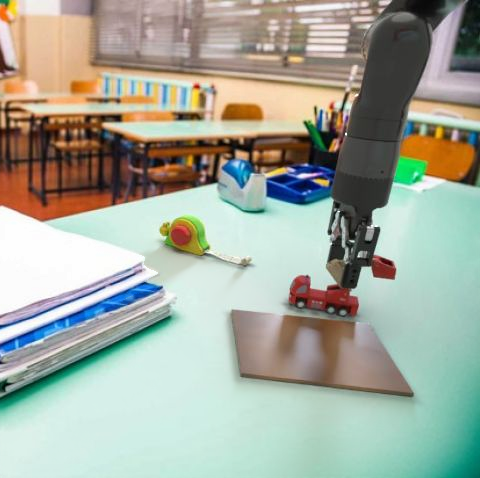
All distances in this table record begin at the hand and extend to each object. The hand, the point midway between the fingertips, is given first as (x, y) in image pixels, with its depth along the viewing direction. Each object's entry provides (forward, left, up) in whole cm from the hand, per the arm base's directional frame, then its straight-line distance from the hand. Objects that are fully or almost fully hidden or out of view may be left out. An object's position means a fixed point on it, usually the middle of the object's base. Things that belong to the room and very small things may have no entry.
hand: (340, 276), depth 75 cm
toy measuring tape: (+20, -19, -6) cm, 28 cm away
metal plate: (+6, +12, -6) cm, 15 cm away
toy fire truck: (0, 0, -6) cm, 6 cm away
